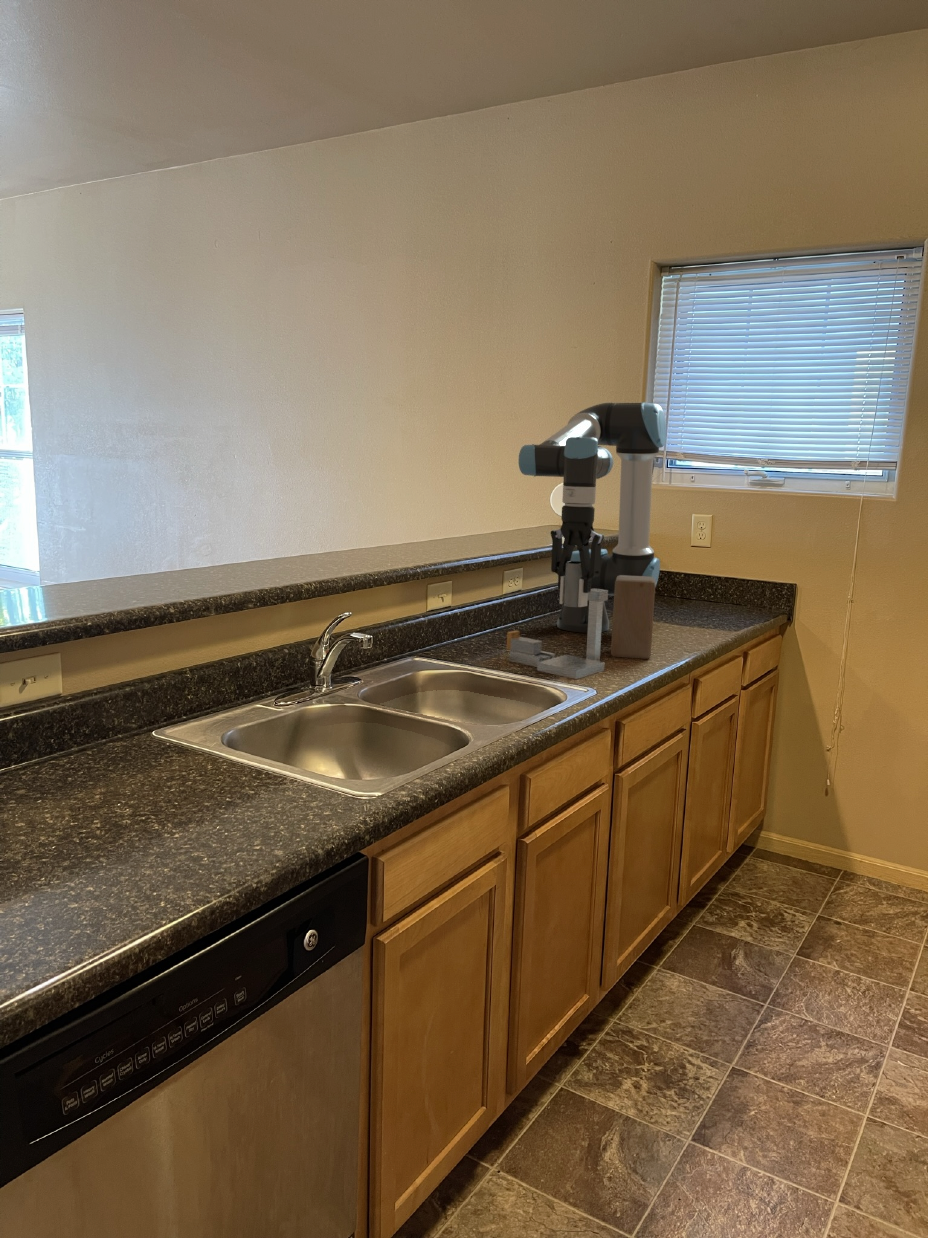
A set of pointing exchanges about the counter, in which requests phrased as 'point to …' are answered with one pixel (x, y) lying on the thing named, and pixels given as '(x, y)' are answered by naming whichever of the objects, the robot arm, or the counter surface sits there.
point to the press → (568, 663)
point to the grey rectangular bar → (523, 644)
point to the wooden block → (633, 616)
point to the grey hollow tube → (572, 583)
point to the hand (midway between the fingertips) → (573, 604)
